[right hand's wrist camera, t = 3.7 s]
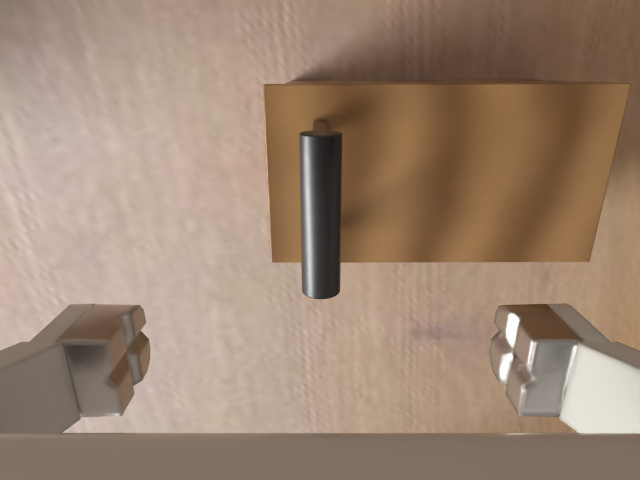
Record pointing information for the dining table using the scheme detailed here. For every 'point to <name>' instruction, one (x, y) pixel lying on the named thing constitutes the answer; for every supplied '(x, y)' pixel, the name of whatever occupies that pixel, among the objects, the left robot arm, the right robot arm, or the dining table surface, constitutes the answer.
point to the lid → (436, 172)
